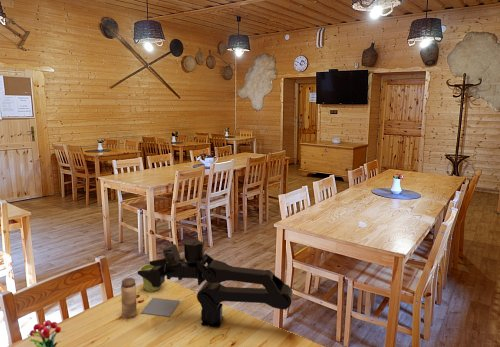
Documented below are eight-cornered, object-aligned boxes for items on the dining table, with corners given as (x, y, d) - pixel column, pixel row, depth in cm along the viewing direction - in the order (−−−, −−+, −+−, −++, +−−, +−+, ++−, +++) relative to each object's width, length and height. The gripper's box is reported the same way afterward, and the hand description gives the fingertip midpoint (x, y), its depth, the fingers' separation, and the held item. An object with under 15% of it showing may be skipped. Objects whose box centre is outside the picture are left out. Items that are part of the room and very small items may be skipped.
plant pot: (158, 295, 151) (157, 274, 149) (135, 292, 152) (135, 271, 151) (167, 284, 160) (167, 264, 158) (146, 281, 162) (146, 262, 160)
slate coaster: (180, 301, 147) (180, 300, 147) (169, 317, 136) (169, 316, 136) (152, 298, 148) (152, 297, 148) (140, 313, 138) (140, 312, 138)
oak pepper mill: (139, 311, 139) (138, 278, 136) (132, 319, 134) (131, 284, 131) (126, 310, 139) (125, 276, 137) (119, 317, 135) (118, 283, 132)
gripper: (193, 239, 140) (154, 237, 143) (174, 256, 122) (129, 254, 125) (195, 268, 142) (155, 266, 145) (176, 289, 124) (131, 286, 127)
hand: (143, 267), depth 135 cm, fingers open, 9 cm apart
